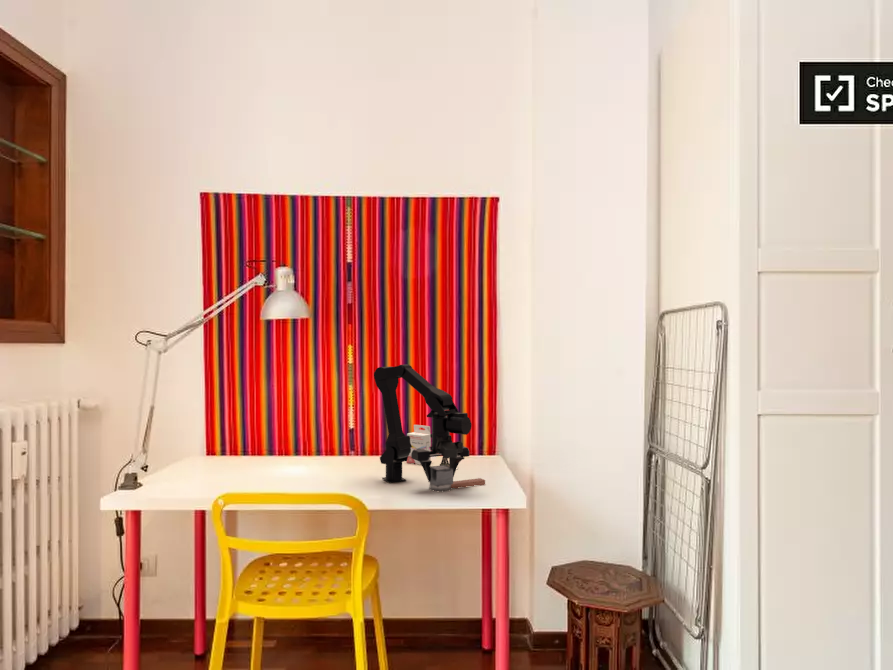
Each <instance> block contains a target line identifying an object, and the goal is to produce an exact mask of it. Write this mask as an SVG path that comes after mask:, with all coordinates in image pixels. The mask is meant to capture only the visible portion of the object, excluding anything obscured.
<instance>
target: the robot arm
mask: <svg viewBox="0 0 893 670" xmlns="http://www.w3.org/2000/svg"><path fill="white" fill-rule="evenodd" d="M401 378H402V379H403V380H404V381H405V382H406V383H408V384H409V385H410V386H411V387H412V388H413V389H414V390H415V391H416V392H418V393H419V394H420V395H421V396H422V397H423V399H424V402H425V404H426V405H427V406H428V408H429V409H430V410H431V411H430V412H428V414H426V417H427V418H430V419H431V422H432V423H431V433H430V437H431V447H430V450H431V451H427V450H424V449H417V450H413V451H412V453H411V447H412V446H411V443H410V436H407V435H406V434H405V433H404V431H403V426H402V419H401V415H400V414H401V413H400V407H399V402H398V401H399V400H398V395H397V389H398V386H399V379H401ZM373 380H374V382H375V386H376V387H377V389H378V390H379V391H380V392H381V395H382V402H383V408H384V414H385V422H386V426H387V437H386V441H385V451H384V452H383V453H382V455H380V456H379V461H380V464H381V465H382V464H383V465H385V476H384V477H382V478H381V480H382V481H384V482H387V483H388V482H389V483H390V482H391V483H397V482H398V483H399V482H406V481H407V478H404V477H403V462H404V463H405V462H407V459H408V456H409V454H410V453H411V458H412V459H415V460H417V461H419V462H420V463H421V465H420V466H421V467H422V468H423V472H424V474H425V476H426V479H427V481H431V465H432V461H433V460H431V461H430V457H431V458H433V457H436V458H437V457H442V458H443V457H444V458H446V459H448V462H449V465H450V467H451V468H453V478H454V477H455V473H456V471H457V469H456V468H458V465H459V463H461V461H463V460H465V457H467V458H468V457H470V449H469V447H466V446H464V445H463V444H464V443H463V442H462V441H461V440H460V441H459V440H458V441H455V442H454V441H453V436H452V435H450V434H454V435H455V434H456V435H457V434H458V435H465V436H467V435H468V434H470V432H471V430H472V421H471V419H470V417H468V415H469V414H468V413H467V412H460V411H459V410H458V407H457V406H456V404H455V403H454V401H453V397H452V395H451V394H450V393H448V392H446V391H444V390H442V389H440V388H437V387H435V386H433V384H431V383H430V382H429V381H428V380H426V378H424V377H423V376H422V375H421V374H420V373H418V372H417V371H416V370H415V369H414V368H413V367H412V365H410V364H399V365H395V366H379V367H377V368H376V369H375V370H374V372H373Z"/></svg>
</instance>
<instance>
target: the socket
mask: <svg viewBox="0 0 893 670" xmlns="http://www.w3.org/2000/svg"><path fill="white" fill-rule="evenodd" d="M430 467H431V481H428V480H427V481H428V483H429V484H430V483H432V484H434V485H436V486H439V485H448V484H453V481H454V477H453V468H451V467H448V466H446V465H441V466H440V465H434V466H433V465H432V466H431V465H430Z"/></svg>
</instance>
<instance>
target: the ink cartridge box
mask: <svg viewBox="0 0 893 670" xmlns="http://www.w3.org/2000/svg"><path fill="white" fill-rule="evenodd" d="M430 434H431V426H429V425H421V424H413V432H408V433H406V436H410V443H411V446H412V447H411V453H412V451H413V450H417V449H424V450H427V451H432V450H430V447H432V438H431V437H430ZM411 453H410V454H409V456H408V459H407V461H406V463H407V464H411V463H415V464H414V465H418V464H421V463H420V462H419V461H417V460H415V459H412V458H411ZM431 458H432V457H430V461H432V460H431Z"/></svg>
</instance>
